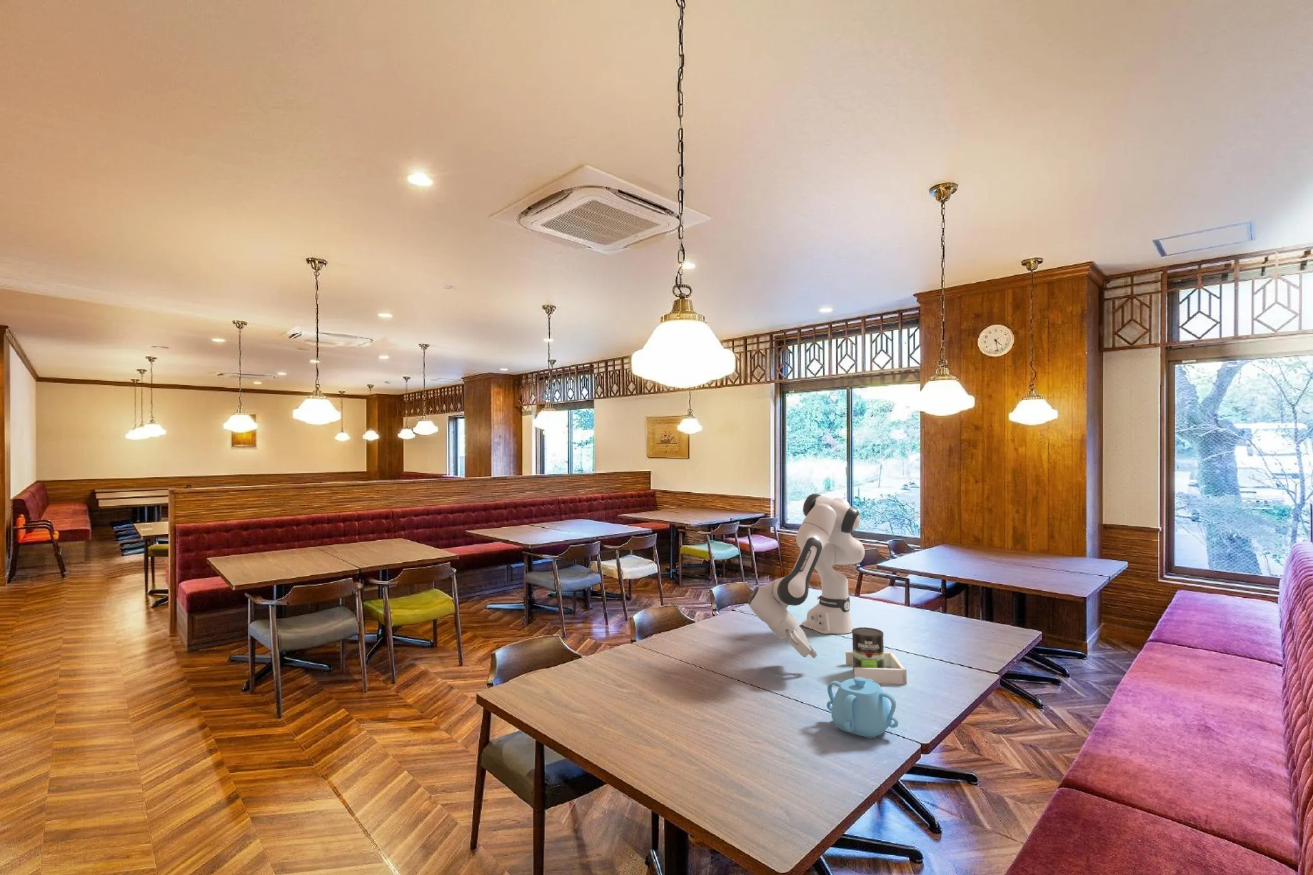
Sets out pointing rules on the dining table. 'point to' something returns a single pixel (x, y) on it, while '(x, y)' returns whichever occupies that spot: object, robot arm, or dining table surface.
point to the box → (881, 670)
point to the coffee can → (867, 648)
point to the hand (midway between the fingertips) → (815, 655)
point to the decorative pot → (861, 707)
